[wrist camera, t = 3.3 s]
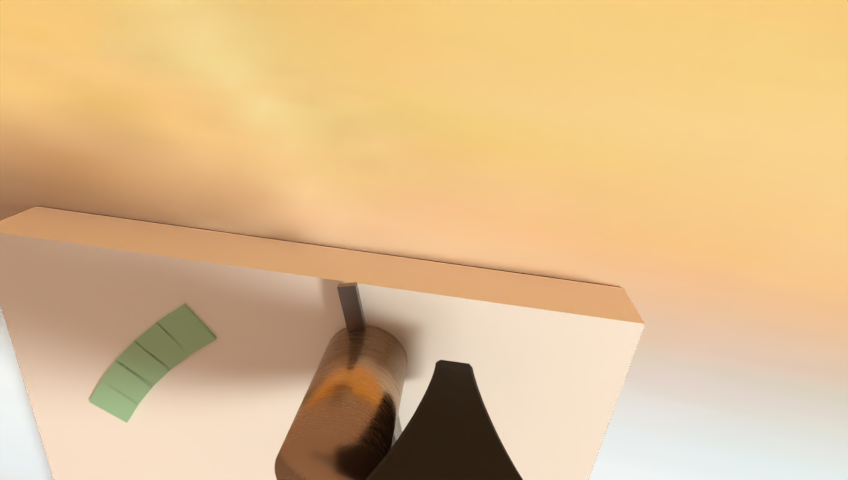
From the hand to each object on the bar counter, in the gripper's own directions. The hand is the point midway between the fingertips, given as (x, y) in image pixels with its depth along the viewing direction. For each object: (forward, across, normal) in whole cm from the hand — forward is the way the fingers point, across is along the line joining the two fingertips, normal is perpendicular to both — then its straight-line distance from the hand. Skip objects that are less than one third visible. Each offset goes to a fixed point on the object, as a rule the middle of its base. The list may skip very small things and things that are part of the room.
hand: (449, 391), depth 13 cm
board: (+3, +4, +5) cm, 8 cm away
